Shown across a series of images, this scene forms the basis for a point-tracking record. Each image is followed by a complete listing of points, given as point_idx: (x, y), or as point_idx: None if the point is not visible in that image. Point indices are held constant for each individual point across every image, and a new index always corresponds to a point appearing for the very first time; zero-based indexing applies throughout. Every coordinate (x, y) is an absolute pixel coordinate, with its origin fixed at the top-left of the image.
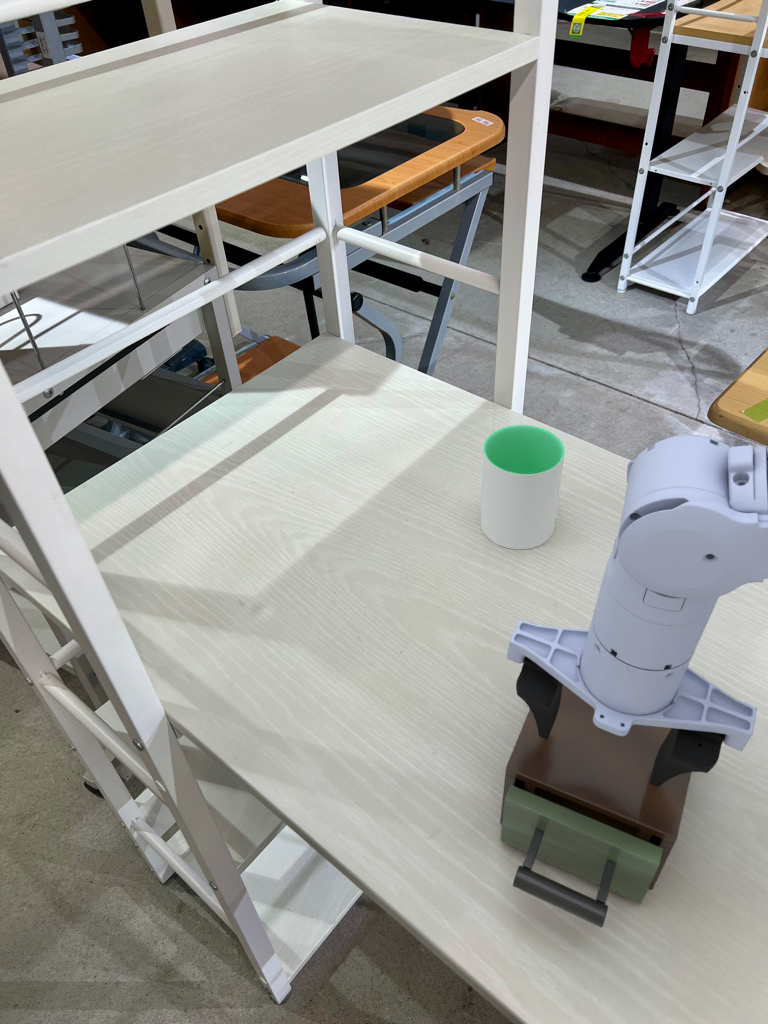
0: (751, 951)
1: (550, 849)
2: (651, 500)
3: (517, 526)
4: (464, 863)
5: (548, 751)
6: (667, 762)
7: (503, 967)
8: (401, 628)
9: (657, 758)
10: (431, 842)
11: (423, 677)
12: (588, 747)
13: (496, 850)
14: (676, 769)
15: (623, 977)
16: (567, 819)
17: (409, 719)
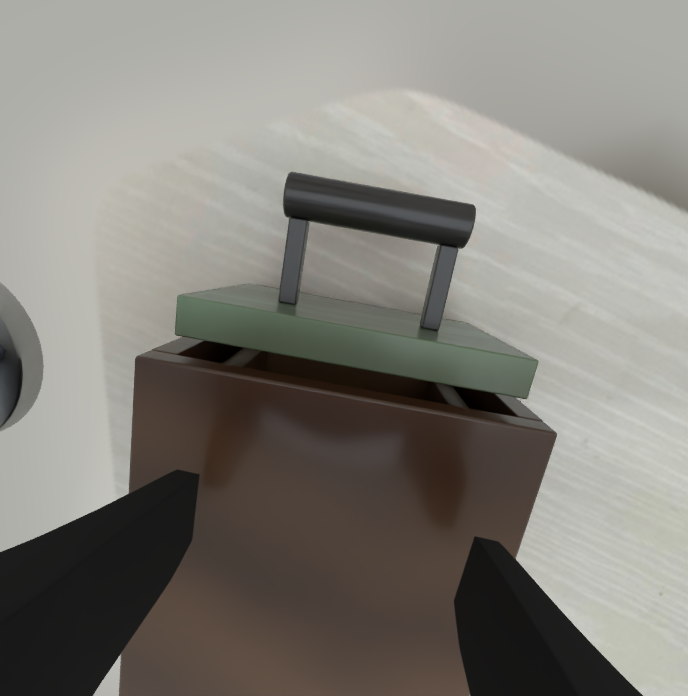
0: (104, 267)
1: (395, 315)
2: None
3: None
4: (516, 280)
5: (451, 498)
6: (3, 614)
7: (438, 140)
8: (664, 632)
9: (170, 551)
10: (573, 299)
11: (617, 559)
12: (357, 526)
13: (467, 313)
14: (2, 572)
15: (264, 180)
16: (386, 348)
17: (633, 486)
